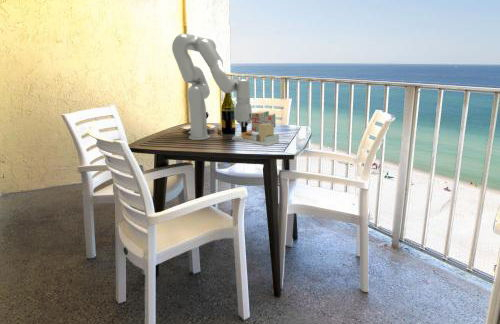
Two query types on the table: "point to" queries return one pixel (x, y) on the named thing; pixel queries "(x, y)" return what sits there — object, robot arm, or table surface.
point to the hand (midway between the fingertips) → (244, 133)
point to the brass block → (265, 130)
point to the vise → (267, 140)
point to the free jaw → (249, 133)
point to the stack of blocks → (261, 119)
